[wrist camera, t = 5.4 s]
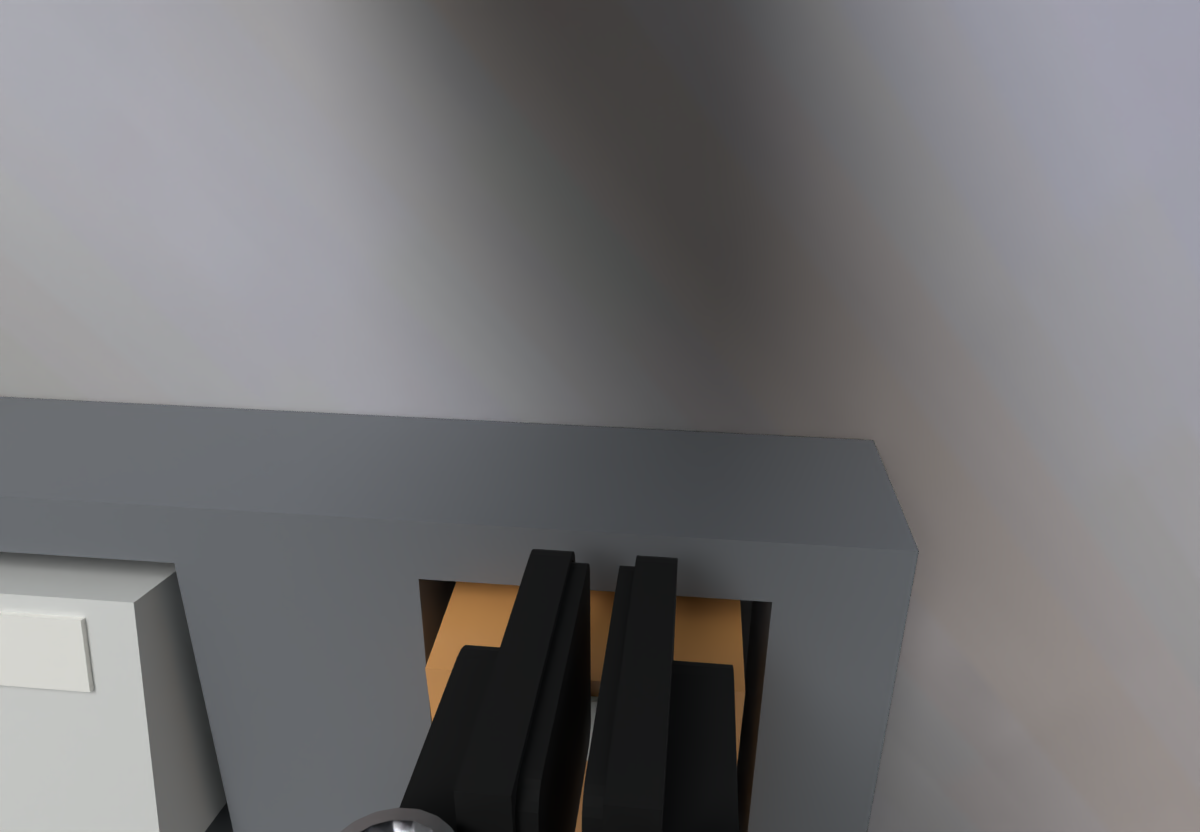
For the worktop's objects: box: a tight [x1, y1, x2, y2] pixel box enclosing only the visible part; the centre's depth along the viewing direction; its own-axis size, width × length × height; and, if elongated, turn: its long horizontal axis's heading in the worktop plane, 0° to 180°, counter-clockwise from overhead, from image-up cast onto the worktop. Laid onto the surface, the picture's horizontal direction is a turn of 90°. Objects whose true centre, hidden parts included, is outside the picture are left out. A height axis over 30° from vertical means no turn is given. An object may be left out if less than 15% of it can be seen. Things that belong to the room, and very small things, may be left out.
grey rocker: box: [0, 552, 226, 832], centre depth 15 cm, size 5×4×2 cm
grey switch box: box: [0, 397, 919, 832], centre depth 17 cm, size 11×18×4 cm, turn 89°
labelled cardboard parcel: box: [425, 581, 745, 832], centre depth 14 cm, size 5×4×2 cm
